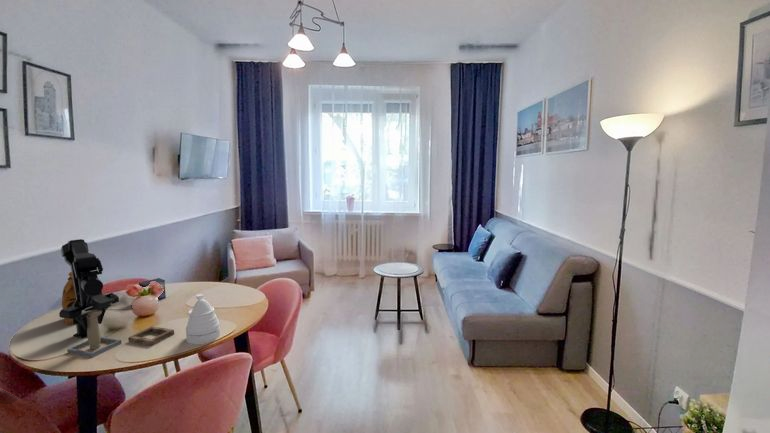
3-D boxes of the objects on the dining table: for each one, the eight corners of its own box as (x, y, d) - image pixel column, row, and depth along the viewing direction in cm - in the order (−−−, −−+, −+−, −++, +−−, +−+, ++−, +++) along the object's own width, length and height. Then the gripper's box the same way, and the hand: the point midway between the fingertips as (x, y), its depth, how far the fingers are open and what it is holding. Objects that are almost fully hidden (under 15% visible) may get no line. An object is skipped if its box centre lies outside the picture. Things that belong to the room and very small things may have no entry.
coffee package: (61, 326, 163) (55, 279, 160) (65, 317, 173) (59, 272, 170) (89, 321, 169) (84, 275, 166) (91, 312, 179) (87, 269, 176)
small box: (145, 304, 190) (144, 284, 189) (139, 301, 194) (137, 282, 192) (166, 298, 199) (165, 279, 198) (160, 295, 203) (158, 277, 201)
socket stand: (128, 342, 149) (128, 337, 149) (152, 330, 160) (151, 326, 160) (151, 346, 146) (151, 341, 146) (174, 334, 157) (173, 329, 156)
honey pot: (182, 337, 154) (179, 296, 152) (213, 327, 163) (210, 289, 161) (193, 347, 145) (190, 304, 143) (225, 336, 155) (223, 296, 152)
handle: (103, 349, 143) (99, 313, 141) (83, 352, 141) (78, 315, 139) (107, 343, 148) (103, 308, 146) (87, 346, 145) (83, 310, 143)
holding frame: (67, 352, 140) (67, 349, 140) (98, 339, 152) (97, 335, 151) (92, 357, 137) (91, 353, 137) (121, 343, 148) (121, 339, 148)
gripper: (78, 298, 130) (83, 340, 132) (127, 283, 148) (131, 319, 150) (56, 295, 133) (60, 336, 135) (106, 280, 151) (110, 316, 153)
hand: (93, 326), depth 143 cm, fingers closed on handle, 5 cm apart
